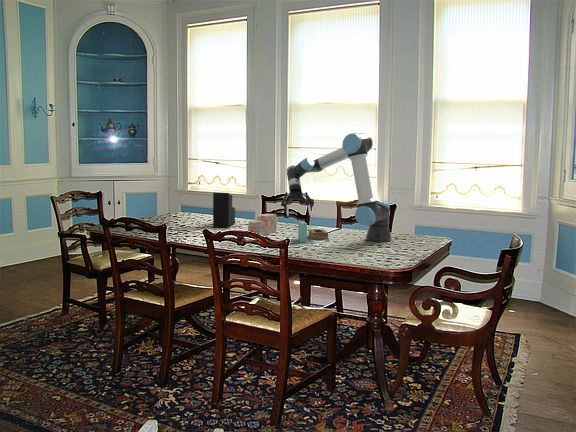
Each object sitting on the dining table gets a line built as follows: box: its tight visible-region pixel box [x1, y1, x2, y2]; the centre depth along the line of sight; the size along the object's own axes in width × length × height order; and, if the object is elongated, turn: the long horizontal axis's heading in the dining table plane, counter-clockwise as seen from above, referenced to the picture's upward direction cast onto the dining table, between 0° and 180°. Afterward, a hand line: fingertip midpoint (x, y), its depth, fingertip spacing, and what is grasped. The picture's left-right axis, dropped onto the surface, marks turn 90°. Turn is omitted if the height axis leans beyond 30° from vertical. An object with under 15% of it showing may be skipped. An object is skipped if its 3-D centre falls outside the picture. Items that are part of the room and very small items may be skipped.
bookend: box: [212, 192, 237, 229], centre depth 397 cm, size 23×11×24 cm, turn 173°
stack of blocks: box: [247, 213, 278, 237], centre depth 363 cm, size 21×6×12 cm, turn 146°
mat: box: [289, 238, 316, 245], centre depth 342 cm, size 16×12×1 cm
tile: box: [297, 221, 308, 243], centre depth 341 cm, size 8×4×11 cm, turn 10°
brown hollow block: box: [307, 228, 330, 241], centre depth 354 cm, size 13×10×4 cm
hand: (299, 214), depth 350 cm, fingers open, 13 cm apart
